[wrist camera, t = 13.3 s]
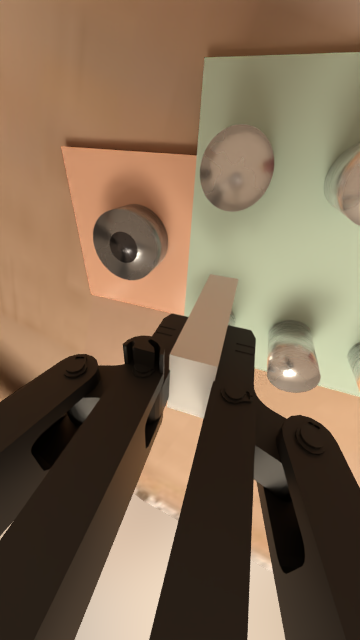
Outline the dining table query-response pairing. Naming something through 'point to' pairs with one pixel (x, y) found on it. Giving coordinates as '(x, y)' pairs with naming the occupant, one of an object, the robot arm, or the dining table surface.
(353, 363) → the spacers
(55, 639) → the robot arm
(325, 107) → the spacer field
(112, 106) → the dining table surface
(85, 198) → the tile
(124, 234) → the dark grey disc
